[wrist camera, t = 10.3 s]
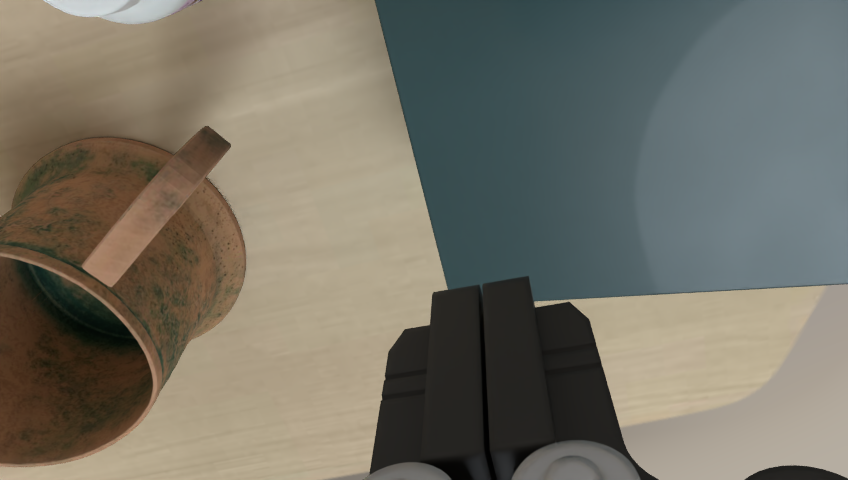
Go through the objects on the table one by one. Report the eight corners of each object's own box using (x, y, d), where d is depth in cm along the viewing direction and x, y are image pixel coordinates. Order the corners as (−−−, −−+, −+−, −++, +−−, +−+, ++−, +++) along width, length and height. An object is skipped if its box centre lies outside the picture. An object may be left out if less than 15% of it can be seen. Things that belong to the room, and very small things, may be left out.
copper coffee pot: (371, 162, 32) (327, 303, 22) (165, 376, 39) (53, 565, 28) (162, -18, 29) (-10, 43, 18) (-25, 249, 36) (-233, 408, 25)
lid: (1105, -265, 13) (1130, -270, 13) (1015, 259, 19) (1029, 275, 18) (364, -79, 18) (354, -75, 18) (456, 293, 24) (451, 307, 23)
